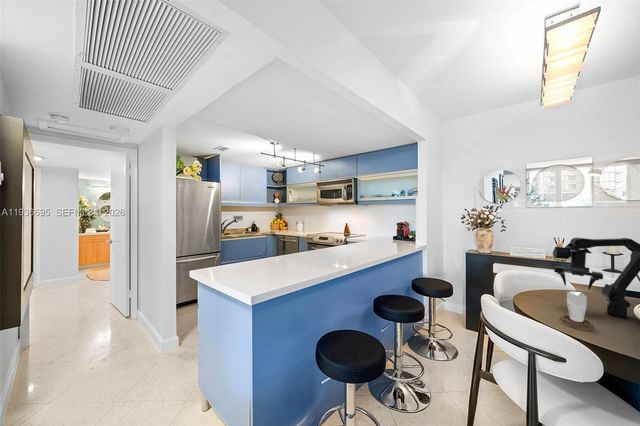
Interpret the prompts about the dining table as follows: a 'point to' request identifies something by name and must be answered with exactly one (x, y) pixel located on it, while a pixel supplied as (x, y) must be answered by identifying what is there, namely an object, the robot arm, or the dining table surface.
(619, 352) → the dining table surface
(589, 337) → the dining table surface
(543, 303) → the dining table surface
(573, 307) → the beer glass
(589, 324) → the faceted bowl
